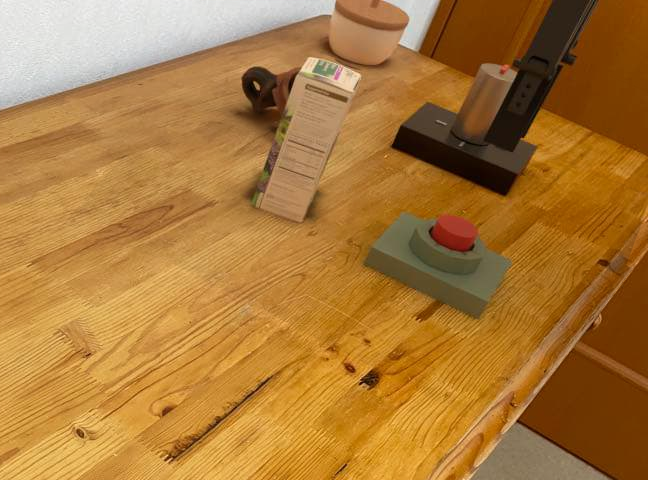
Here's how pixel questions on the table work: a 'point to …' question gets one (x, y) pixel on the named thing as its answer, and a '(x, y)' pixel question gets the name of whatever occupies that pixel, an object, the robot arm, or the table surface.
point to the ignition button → (454, 233)
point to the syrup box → (305, 138)
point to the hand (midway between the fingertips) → (504, 137)
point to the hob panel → (460, 150)
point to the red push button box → (438, 265)
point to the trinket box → (366, 30)
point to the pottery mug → (268, 88)
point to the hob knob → (483, 102)
